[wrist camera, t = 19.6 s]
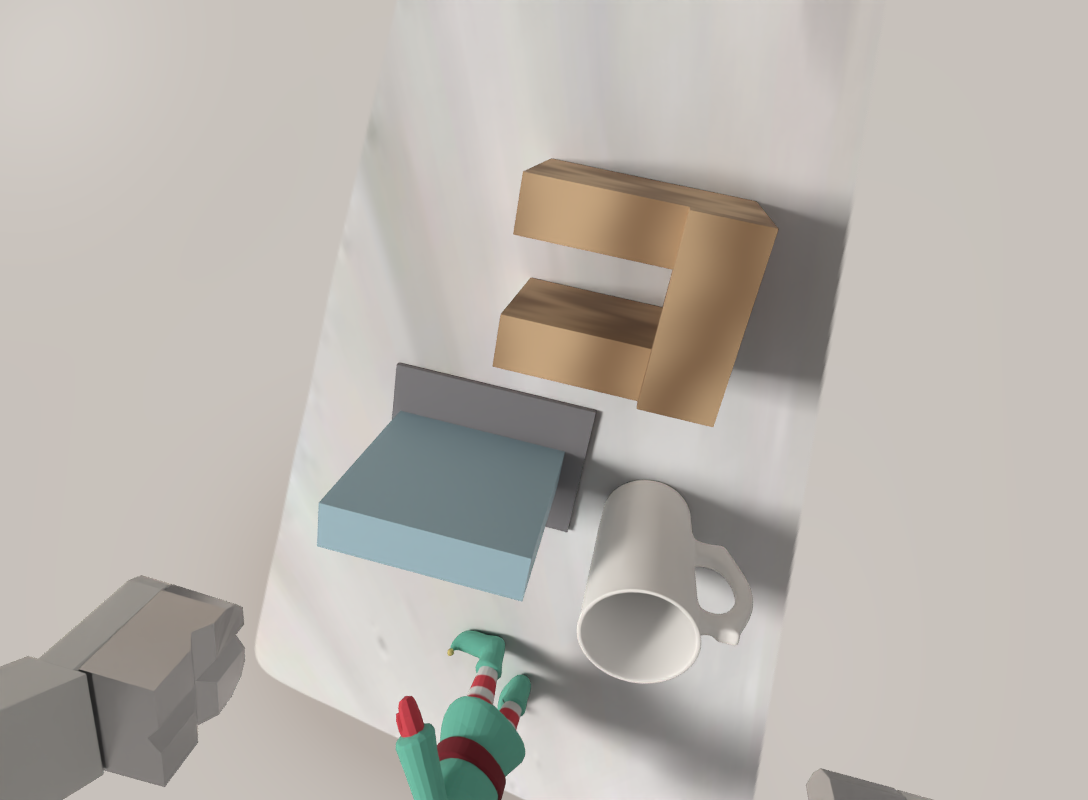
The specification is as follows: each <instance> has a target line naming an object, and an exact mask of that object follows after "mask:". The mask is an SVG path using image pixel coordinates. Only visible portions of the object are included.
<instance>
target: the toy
mask: <svg viewBox="0 0 1088 800" xmlns="http://www.w3.org/2000/svg"><path fill="white" fill-rule="evenodd" d="M454 650H460V651H463V652H466V653H469V654H471V655H473V656H475V657H478V658H480V659H479V661H478V663H477V665H476V672H477V675H476V677H475V679H474V681H473V683H472V686H471V688H470V690H469V692H468V694H467V696H464V697H460V698H458V699H456V700H455V701H454V702H453V703H452V704H451V705H450V706H449V708H448V710H447V712H446V713H445V715H444V719H443V722H442V727H441V735H440V743H439V744H438V745H437V744H436V736H435V729H434V727H433V726H432V724H430V723H426V724H424V723H423V719H422V716H421V713H420V710H419V708H418V705H417V703H416V701H415V699H414V698H413V697H412V696H405V697H404V698H403V699H402V700H401V701H400V702H399V708H398V709H399V713H397V714H396V722H397V726H398V730H399V732H400V735H401V737H400V738H399V739H398V740H397V742H396V751H397V754H398V756H399V759H400V762H401V764H402V767H403V769H404V772H405V775H406V778H407V781H408V784H409V786H410V789H411V792H412V795H413V798H414V800H501V799H502V795H503V791H504V788H505V784H506V779H505V777H506V776H507V775H508V774H509V773H510V772H511V771H512V770H514V769H515V768H516V767H517V766H518V765H519V764H520V763H522V761H523V759H524V757H525V747H524V743H523V741H522V739H521V737H520V736H519V734H518V733H517V731H516V729H517V725H518V722H519V719H520V717H521V716H522V715H523V714H524V713H525V710H526V705H527V700H528V697H529V694H530V689H531V683H530V680H529V679H528V678H527V676H525V675H517V676H515V677H514V678H512V679H511V680H510V682H509V683H508V684H507V685H506V686H505V687H504V689H503V690H502V692H501V694H500V697H499V702H498V709H497V708H496V707H495V706H494V705H493V701H494V695H495V689H496V683H497V680H498V679H499V678H500V677H501V674H502V662H503V657H504V653H505V642H504V640H503V639H502V638H501V637H498V636H492V635H485V634H483V633H480V632H477V631H465V632H462V633H461V634H459V635H458V636H457V637H456V639H455V640H454V641H453V642H452V645H451V648H450V649H449V650H448V653H447V654H448V656H451V655H453V654H454Z"/></svg>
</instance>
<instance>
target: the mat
mask: <svg viewBox="0 0 1088 800" xmlns="http://www.w3.org/2000/svg"><path fill="white" fill-rule="evenodd" d="M400 411H403V412H407V413H411V414H415V415H419V416H423V417H428V418H432V419H436V420H440V421H444V422H448V423H452V424H456V425H460V426H464V427H468V428H472V429H476V430H480V431H484V432H488V433H492V434H496V435H500V436H504V437H508V438H512V439H516V440H520V441H524V442H528V443H532V444H536V445H540V446H544V447H548V448H552V449H556V450H560V451H564V452H565V454H564V458H563V463H562V467H561V472H560V476H559V481H558V485H557V489H556V492H555V496H554V499H553V502H552V506H551V509H550V512H549V515H548V519H547V522H546V525H545V527H549V528H553V529H557V530H561V531H565V532H567V531H568V527H569V523H570V519H571V515H572V510H573V506H574V502H575V498H576V494H577V490H578V485H579V481H580V477H581V473H582V469H583V464H584V460H585V456H586V452H587V448H588V444H589V439H590V435H591V431H592V427H593V423H594V418H595V414H596V410H594V409H589V408H585V407H581V406H577V405H573V404H569V403H565V402H560V401H556V400H552V399H548V398H544V397H540V396H536V395H531V394H527V393H523V392H519V391H515V390H511V389H507V388H502V387H498V386H494V385H490V384H486V383H482V382H478V381H473V380H469V379H465V378H461V377H457V376H453V375H449V374H444V373H440V372H436V371H432V370H428V369H424V368H420V367H415V366H411V365H407V364H403V363H398V364H397V368H396V379H395V391H394V402H393V414H392V420H393V419H394V417H395V416H396V415H397V414H398V413H399V412H400Z"/></svg>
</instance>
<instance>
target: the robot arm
mask: <svg viewBox="0 0 1088 800" xmlns="http://www.w3.org/2000/svg"><path fill="white" fill-rule="evenodd" d="M243 625H244V616H243V607H241V606H239V605H237V604H234V603H230V602H227V601H224V600H221V599H218V598H214V597H211V596H208V595H205V594H202V593H198V592H196V591H192V590H189V589H186V588H183V587H180V586H176V585H172V584H169V583H166V582H162V581H159V580H156V579H152V578H149V577H146V576H142V575H141V576H139V577H136V578H133V579H131V580H129V581H127V582H126V583H125V584H124V585H123V586H121V587H120V588H119V589H118V590H117V591H116V592H114V594H112V595H111V596H110V597H109V598H108V599H106V600H105V601H104V602H103V603H102V604H101V605H99V606H98V607H97V608H96V609H95V610H94V611H93V612H91V613H90V614H89V615H88V616H87V617H86V618H85V619H83V621H81V622H80V623H79V624H78V625H77V626H75V627H74V628H73V629H72V630H71V631H70V632H69V633H68V634H66V635H65V636H64V637H63V638H62V639H60V640H59V641H58V642H57V643H56V644H55V645H54V646H53V647H51V648H50V649H49V650H48V651H47V652H46V653H44V654H43V655H42V656H41V657H40V658H39V659H37V658H33V657H29V656H27V657H24V658H22V659H19V660H17V661H14V662H11V663H9V664H6V665H3V666H1V667H0V800H63V799H64V798H66V797H68V796H69V795H71V794H73V793H74V792H76V791H77V790H79V789H81V788H82V787H84V786H86V785H87V784H89V783H91V782H92V781H94V780H95V779H97V778H99V777H100V776H102V775H103V773H104V772H103V770H105V771H109V772H112V773H116V774H120V775H123V776H127V777H130V778H134V779H137V780H141V781H145V782H148V783H152V784H155V785H159V786H163V787H165V786H166V785H167V783H168V782H169V781H170V779H171V778H172V776H173V775H174V774H175V773H176V771H177V770H178V769H179V767H180V766H181V765H182V763H183V762H184V761H185V759H186V758H187V757H188V755H189V754H190V753H191V751H192V750H193V749H194V747H195V746H196V745H197V743H198V725H199V724H201V723H203V722H205V721H207V720H209V719H211V718H213V717H215V716H217V715H219V713H220V712H221V711H222V709H223V708H224V707H225V705H226V704H227V702H228V701H229V700H230V698H231V697H232V695H233V692H234V690H235V688H236V686H237V684H238V682H239V680H240V677H241V675H242V670H243V666H244V662H245V647H244V646H243V644H242V643H241V641H240V640H239V639H238V637H237V636H236V634H237V633H238V631H239V630H240V629H241V628H242V626H243ZM806 787H807V793H808V799H809V800H932V799H928V798H925V797H921V796H917V795H914V794H911V793H907V792H903V791H899V790H895V789H894V788H891V787H888V786H884V785H880V784H876V783H873V782H869V781H865V780H861V779H858V778H854V777H851V776H847V775H843V774H839V773H836V772H832V771H828V770H825V769H819V770H817V771H815V772H814V773H813V774H812V776H811V777H810V779H809V781H808V783H807V784H806Z"/></svg>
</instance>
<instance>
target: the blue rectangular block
mask: <svg viewBox="0 0 1088 800" xmlns="http://www.w3.org/2000/svg"><path fill="white" fill-rule="evenodd" d="M564 454H565V452H564V451H560V450H556V449H552V448H548V447H544V446H540V445H536V444H532V443H528V442H524V441H520V440H516V439H512V438H508V437H504V436H500V435H496V434H492V433H488V432H484V431H480V430H476V429H472V428H468V427H464V426H460V425H456V424H452V423H448V422H444V421H440V420H436V419H432V418H428V417H423V416H419V415H415V414H411V413H407V412H403V411H400V412H399V413H398V414H397V415H396V416H395V417H394V419H393V420H392V421H391V422H390V423H389V424H388V425H387V426H386V428H385V429H384V430H383V431H382V432H381V433H380V434H379V435H378V437H377V438H376V439H375V440H374V441H373V442H372V443H371V444H370V446H369V447H368V448H367V449H366V450H365V451H364V452H363V454H362V455H361V456H360V457H359V458H358V459H357V460H356V461H355V463H354V464H353V465H352V466H351V467H350V468H349V469H348V470H347V472H346V473H345V474H344V475H343V476H342V477H341V478H340V479H339V481H338V482H337V483H336V484H335V485H334V486H333V487H332V488H331V490H330V491H329V492H328V493H327V494H326V495H325V496H324V498H323V499H322V500H321V501H320V502H319V511H318V539H317V546H318V547H322V548H326V549H329V550H333V551H337V552H341V553H344V554H348V555H352V556H355V557H359V558H363V559H367V560H370V561H374V562H378V563H381V564H385V565H389V566H392V567H396V568H400V569H404V570H407V571H411V572H415V573H418V574H422V575H426V576H429V577H433V578H437V579H441V580H444V581H448V582H452V583H455V584H459V585H463V586H467V587H470V588H474V589H478V590H481V591H485V592H489V593H492V594H496V595H500V596H504V597H507V598H511V599H515V600H518V601H523V597H524V594H525V591H526V588H527V584H528V581H529V578H530V574H531V571H532V568H533V565H534V561H535V558H536V555H537V551H538V548H539V545H540V542H541V538H542V535H543V532H544V529H545V525H546V522H547V519H548V515H549V512H550V509H551V506H552V502H553V499H554V496H555V492H556V489H557V485H558V481H559V476H560V472H561V467H562V463H563V458H564Z"/></svg>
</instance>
